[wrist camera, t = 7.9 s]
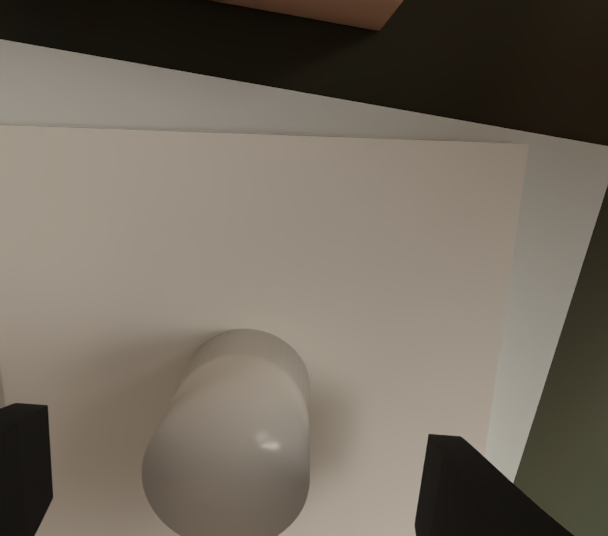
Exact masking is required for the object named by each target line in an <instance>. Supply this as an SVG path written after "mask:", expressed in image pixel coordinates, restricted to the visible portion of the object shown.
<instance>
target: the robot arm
mask: <svg viewBox="0 0 608 536" xmlns="http://www.w3.org/2000/svg"><path fill="white" fill-rule="evenodd" d="M52 499H53V485H52V468H51V451H50V434H49V416H48V405H39V404H25V403H14V404H11V405H8V406H6V407H3V408H0V536H35V534H36V532H37V530H38V528H39V526H40V524H41V522H42V520H43V518H44V516H45V514H46V512H47V510H48V508H49V505H50V503H51V501H52ZM414 525H415V532H416V536H574V535H572V534H571V533H570V532H569V531H567V530H566V529H565V528H564V527H562V526H561V525H560V524H559V523H558V522H556V521H555V520H554V519H553V518H552V517H550V516H549V515H548V514H547V513H546V512H545V511H543V510H542V509H541V508H540V507H539V506H538V505H537V504H535V503H534V502H533V501H532V500H531V499H530V498H529V497H527V496H526V495H525V494H524V493H523V492H522V491H521V490H520V489H519V488H517V487H516V486H515V485H514V484H513V483H512V482H511V481H510V480H509V479H508V478H506V477H505V476H504V475H503V474H502V473H501V472H500V471H499V470H498V469H497V468H496V467H495V466H493V465H492V464H491V463H490V462H489V461H488V460H487V459H486V458H485V457H484V456H483V455H482V454H481V453H479V452H478V451H477V450H476V449H475V448H474V447H473V446H472V445H471V444H469V443H468V442H467V441H466V440H465V439H464V438H462V437H461V436H450V435H437V434H428V441H427V447H426V454H425V460H424V466H423V473H422V479H421V486H420V492H419V498H418V505H417V511H416V518H415V524H414Z"/></svg>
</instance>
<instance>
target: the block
mask: <svg viewBox="0 0 608 536" xmlns="http://www.w3.org/2000/svg"><path fill="white" fill-rule="evenodd" d="M210 1H216V2H221V3H227V4H232V5H238V6H243V7H249V8H254V9H260V10H265V11H271V12H276V13H282V14H288V15H293V16H299V17H304V18H310V19H315V20H321V21H326V22H332V23H337V24H343V25H348V26H354V27H359V28H365V29H371V30H376V31H380V30H381V29H382V27H383V26H384V25H385V23H386V22H387V21H388V19H389V18H390V17H391V16H392V14H393V13H394V12H395V10H396V9H397V8H398V7H399V5H400V4H401V3H402V1H403V0H210Z"/></svg>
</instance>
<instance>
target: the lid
mask: <svg viewBox="0 0 608 536" xmlns="http://www.w3.org/2000/svg"><path fill="white" fill-rule="evenodd" d="M528 147H529V144H524V143H514V142H494V141H466V140H437V139H409V138H381V137H353V136H325V135H297V134H269V133H240V132H212V131H184V130H156V129H128V128H100V127H72V126H43V125H15V124H0V367H1V375H2V383H3V391H4V399H5V407H6V406H8V405H11V404H14V403H25V404H39V405H48V416H49V434H50V451H51V468H52V485H53V499H52V501H51V503H50V505H49V508H48V510H47V512H46V514H45V516H44V518H43V520H42V522H41V524H40V526H39V528H38V530H37V532H36V534H35V536H416V532H415V525H414V524H415V518H416V511H417V505H418V498H419V492H420V486H421V479H422V473H423V466H424V460H425V454H426V447H427V441H428V434H437V435H450V436H461V437H462V438H464V439H465V440H466V441H467V442H468V443H469V444H471V445H472V446H473V447H474V448H475V449H476V450H477V451H478V452H479V453H481V454H482V455H483V456H484V457H485V451H486V444H487V437H488V430H489V423H490V416H491V409H492V401H493V394H494V387H495V380H496V373H497V366H498V359H499V352H500V345H501V338H502V331H503V324H504V317H505V310H506V303H507V295H508V288H509V281H510V274H511V267H512V260H513V253H514V246H515V239H516V232H517V225H518V218H519V211H520V204H521V197H522V189H523V182H524V175H525V168H526V161H527V154H528Z"/></svg>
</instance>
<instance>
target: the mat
mask: <svg viewBox="0 0 608 536" xmlns="http://www.w3.org/2000/svg"><path fill="white" fill-rule="evenodd" d="M0 124H15V125H43V126H72V127H100V128H128V129H156V130H184V131H212V132H240V133H269V134H297V135H325V136H353V137H381V138H409V139H437V140H466V141H494V142H514V143H524V144H529V147H528V154H527V161H526V168H525V175H524V182H523V189H522V197H521V204H520V211H519V218H518V225H517V232H516V239H515V246H514V253H513V260H512V267H511V274H510V281H509V288H508V295H507V303H506V310H505V317H504V324H503V331H502V338H501V345H500V352H499V359H498V366H497V373H496V380H495V387H494V394H493V401H492V409H491V416H490V423H489V430H488V437H487V444H486V451H485V458H486V459H487V460H488V461H489V462H490V463H491V464H492V465H493V466H495V467H496V468H497V469H498V470H499V471H500V472H501V473H502V474H503V475H504V476H505V477H506V478H508V479H509V480H510V481H511V482H512V483H513V482H514V479H515V476H516V473H517V469H518V466H519V463H520V460H521V457H522V454H523V451H524V447H525V444H526V441H527V438H528V435H529V432H530V428H531V425H532V422H533V419H534V416H535V413H536V410H537V406H538V403H539V400H540V397H541V394H542V391H543V387H544V384H545V381H546V378H547V375H548V372H549V369H550V365H551V362H552V359H553V356H554V353H555V350H556V346H557V343H558V340H559V337H560V334H561V331H562V328H563V324H564V321H565V318H566V315H567V312H568V309H569V305H570V302H571V299H572V296H573V293H574V290H575V286H576V283H577V280H578V277H579V274H580V271H581V268H582V264H583V261H584V258H585V255H586V252H587V249H588V245H589V242H590V239H591V236H592V233H593V230H594V227H595V223H596V220H597V217H598V214H599V211H600V208H601V204H602V201H603V198H604V195H605V192H606V189H607V186H608V146H604V145H598V144H593V143H587V142H581V141H576V140H570V139H564V138H559V137H553V136H547V135H542V134H536V133H530V132H525V131H519V130H513V129H508V128H502V127H496V126H490V125H485V124H479V123H473V122H468V121H462V120H456V119H451V118H445V117H439V116H434V115H428V114H422V113H417V112H411V111H405V110H400V109H394V108H388V107H383V106H377V105H371V104H365V103H360V102H354V101H348V100H343V99H337V98H331V97H326V96H320V95H314V94H309V93H303V92H297V91H292V90H286V89H280V88H275V87H269V86H263V85H257V84H252V83H246V82H240V81H235V80H229V79H223V78H218V77H212V76H206V75H201V74H195V73H189V72H184V71H178V70H172V69H167V68H161V67H155V66H150V65H144V64H138V63H132V62H127V61H121V60H115V59H110V58H104V57H98V56H93V55H87V54H81V53H76V52H70V51H64V50H59V49H53V48H47V47H42V46H36V45H30V44H24V43H19V42H13V41H7V40H2V39H0ZM3 407H5V399H4V391H3V383H2V375H1V367H0V408H3Z"/></svg>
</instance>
